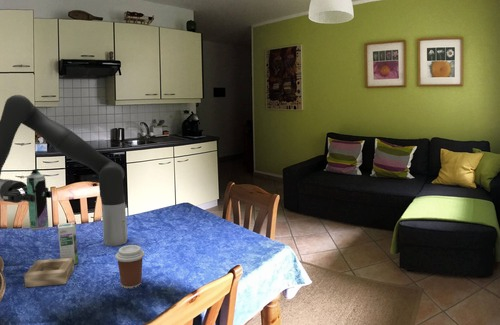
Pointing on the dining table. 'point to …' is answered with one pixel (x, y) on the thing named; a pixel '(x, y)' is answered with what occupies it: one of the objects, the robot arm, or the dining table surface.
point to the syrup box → (68, 241)
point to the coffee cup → (130, 265)
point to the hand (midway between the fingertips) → (42, 196)
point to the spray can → (37, 201)
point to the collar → (49, 272)
